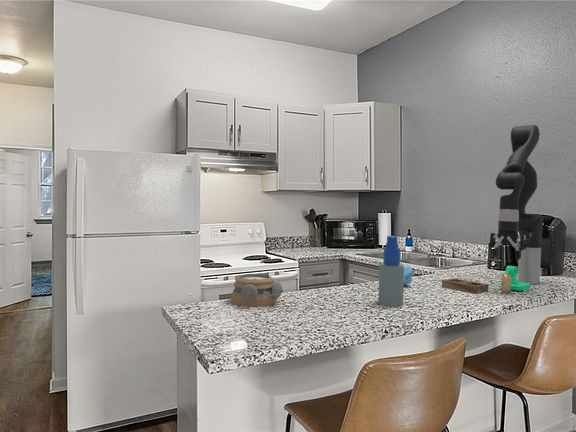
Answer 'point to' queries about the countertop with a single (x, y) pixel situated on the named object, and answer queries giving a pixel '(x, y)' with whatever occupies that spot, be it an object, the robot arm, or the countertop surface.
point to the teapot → (407, 275)
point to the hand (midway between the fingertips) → (506, 258)
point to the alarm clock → (255, 290)
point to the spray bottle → (391, 275)
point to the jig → (465, 285)
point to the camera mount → (514, 284)
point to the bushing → (506, 284)
